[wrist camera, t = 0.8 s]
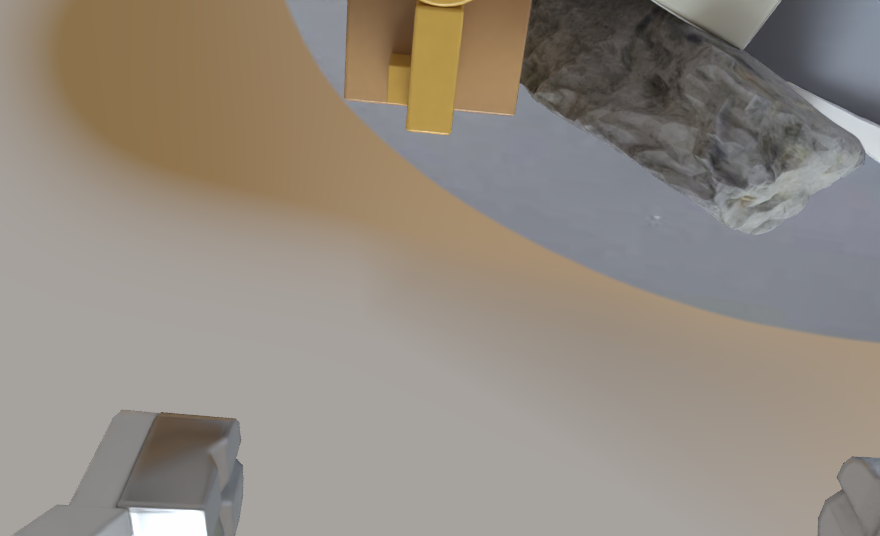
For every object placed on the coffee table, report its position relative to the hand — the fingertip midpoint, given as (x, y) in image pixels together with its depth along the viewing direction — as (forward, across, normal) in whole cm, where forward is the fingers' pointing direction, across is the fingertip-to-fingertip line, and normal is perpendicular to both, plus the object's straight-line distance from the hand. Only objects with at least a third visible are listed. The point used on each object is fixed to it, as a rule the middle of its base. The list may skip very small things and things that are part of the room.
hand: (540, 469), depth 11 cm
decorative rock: (+31, -10, +4) cm, 33 cm away
